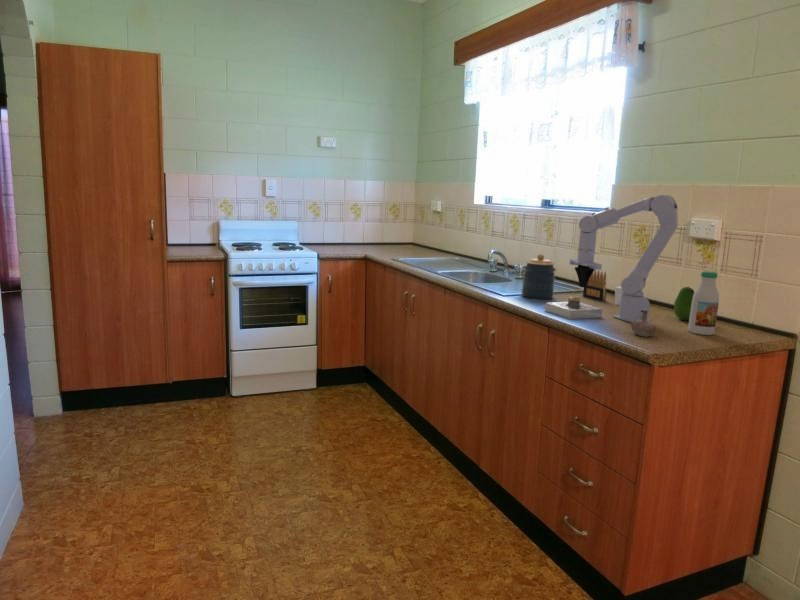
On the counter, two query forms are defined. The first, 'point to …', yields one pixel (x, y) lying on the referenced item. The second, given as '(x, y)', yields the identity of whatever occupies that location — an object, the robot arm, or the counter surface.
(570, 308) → the block
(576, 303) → the bushing
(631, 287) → the robot arm
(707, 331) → the milk bottle
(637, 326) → the garlic bulb
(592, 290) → the ammunition clip
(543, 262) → the canister
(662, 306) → the counter surface
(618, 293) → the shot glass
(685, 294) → the avocado
